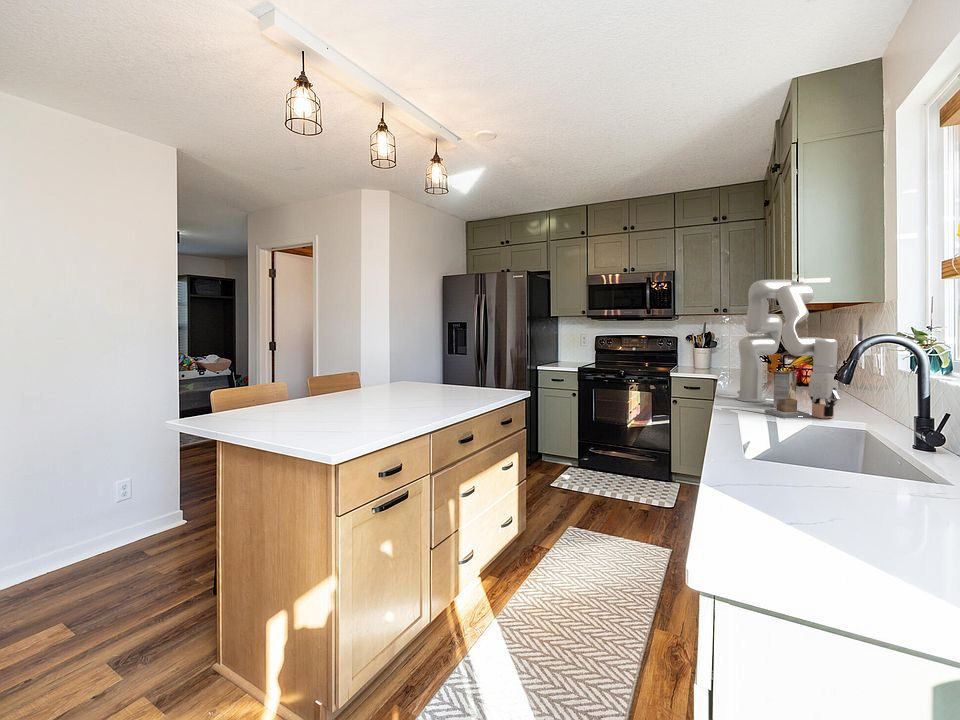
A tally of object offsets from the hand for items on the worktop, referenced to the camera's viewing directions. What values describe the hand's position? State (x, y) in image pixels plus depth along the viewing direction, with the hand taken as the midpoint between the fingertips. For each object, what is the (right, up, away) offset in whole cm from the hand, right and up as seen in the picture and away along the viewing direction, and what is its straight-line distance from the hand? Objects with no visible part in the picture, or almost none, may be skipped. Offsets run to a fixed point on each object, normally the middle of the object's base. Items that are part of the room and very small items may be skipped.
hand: (822, 414), depth 184 cm
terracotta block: (0, -1, 0) cm, 1 cm away
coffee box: (+1, 0, +24) cm, 24 cm away
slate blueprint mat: (-10, -1, +6) cm, 12 cm away
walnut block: (-10, +1, +6) cm, 12 cm away
